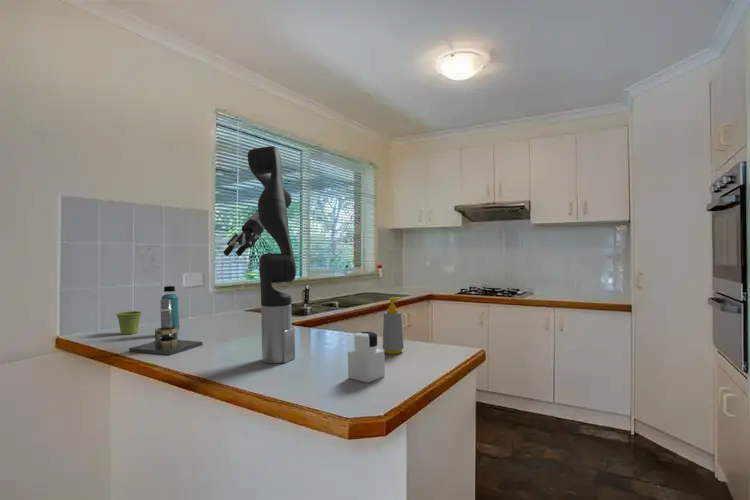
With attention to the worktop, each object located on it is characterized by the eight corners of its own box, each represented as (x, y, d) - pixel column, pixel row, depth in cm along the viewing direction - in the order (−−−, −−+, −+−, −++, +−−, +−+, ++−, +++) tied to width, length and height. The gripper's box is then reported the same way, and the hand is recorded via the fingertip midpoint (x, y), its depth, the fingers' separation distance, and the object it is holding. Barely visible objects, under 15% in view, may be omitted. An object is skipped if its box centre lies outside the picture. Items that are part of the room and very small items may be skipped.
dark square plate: (202, 344, 156) (201, 325, 156) (170, 355, 142) (169, 334, 142) (163, 342, 162) (163, 323, 162) (129, 351, 148) (128, 331, 148)
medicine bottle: (365, 371, 120) (364, 329, 120) (385, 376, 115) (384, 331, 115) (347, 378, 114) (346, 333, 114) (368, 383, 110) (367, 336, 110)
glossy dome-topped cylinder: (175, 343, 153) (174, 299, 153) (167, 346, 150) (166, 300, 150) (167, 343, 155) (166, 298, 154) (158, 345, 151) (157, 300, 151)
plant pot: (147, 331, 185) (146, 311, 184) (131, 335, 175) (131, 314, 175) (127, 331, 186) (126, 311, 186) (111, 335, 176) (110, 314, 176)
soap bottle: (407, 353, 140) (406, 298, 139) (387, 355, 137) (386, 299, 137) (398, 348, 146) (397, 295, 146) (379, 350, 143) (378, 297, 143)
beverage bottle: (182, 333, 179) (181, 285, 179) (173, 336, 172) (172, 286, 172) (167, 333, 179) (166, 285, 179) (158, 336, 173) (157, 286, 173)
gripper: (239, 219, 175) (214, 247, 166) (261, 217, 166) (235, 247, 157) (251, 232, 179) (227, 261, 170) (272, 231, 170) (248, 261, 161)
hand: (231, 254), depth 164 cm, fingers open, 8 cm apart
